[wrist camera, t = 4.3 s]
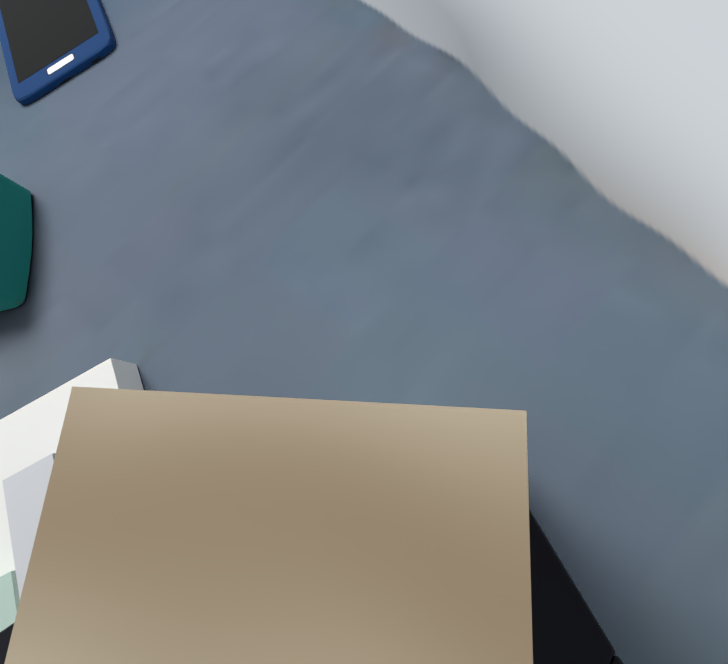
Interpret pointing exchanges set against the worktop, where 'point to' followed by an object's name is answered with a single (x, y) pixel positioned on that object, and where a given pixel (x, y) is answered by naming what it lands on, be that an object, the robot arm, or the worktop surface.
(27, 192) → the digital multimeter
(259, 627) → the birch block
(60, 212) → the worktop surface
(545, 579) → the robot arm
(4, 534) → the display stand
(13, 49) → the cell phone
